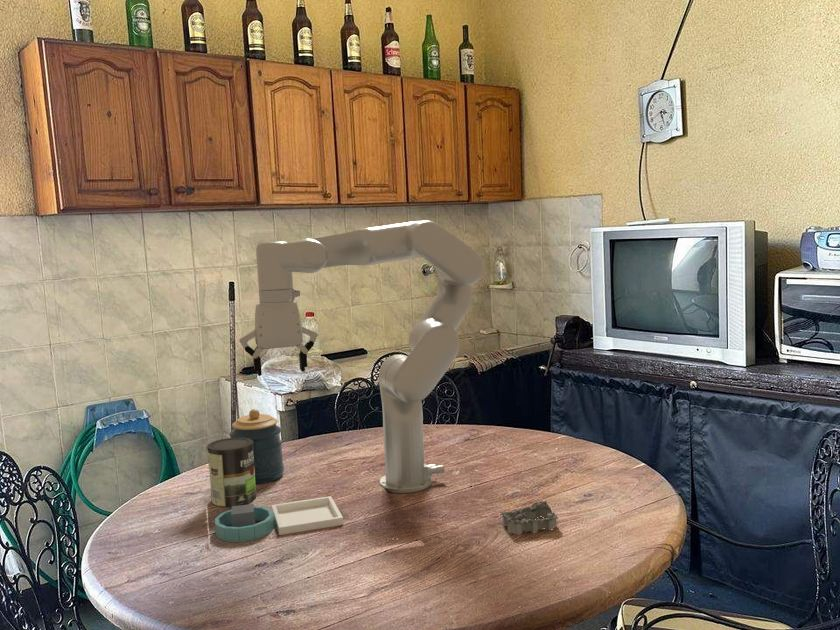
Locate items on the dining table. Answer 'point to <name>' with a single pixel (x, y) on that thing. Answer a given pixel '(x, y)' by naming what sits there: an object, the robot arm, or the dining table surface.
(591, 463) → the dining table surface
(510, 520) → the egg carton
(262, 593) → the dining table surface
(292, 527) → the parts tray
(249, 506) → the slate block
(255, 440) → the canister
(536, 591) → the dining table surface
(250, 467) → the coffee can
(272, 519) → the bowl
